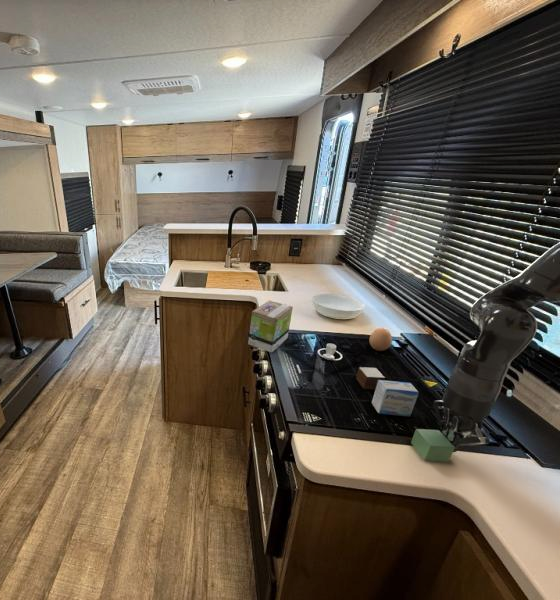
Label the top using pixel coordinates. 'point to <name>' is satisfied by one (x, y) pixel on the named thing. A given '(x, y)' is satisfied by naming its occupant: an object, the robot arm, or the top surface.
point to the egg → (380, 339)
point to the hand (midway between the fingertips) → (446, 449)
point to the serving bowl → (337, 306)
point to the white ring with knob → (329, 352)
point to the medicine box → (394, 398)
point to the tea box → (270, 325)
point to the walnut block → (369, 377)
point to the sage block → (432, 445)
